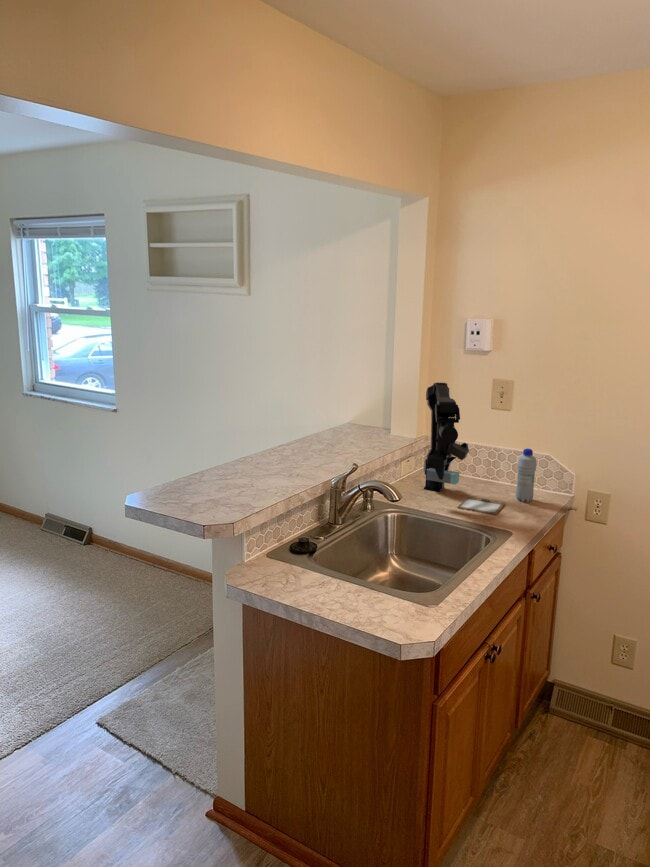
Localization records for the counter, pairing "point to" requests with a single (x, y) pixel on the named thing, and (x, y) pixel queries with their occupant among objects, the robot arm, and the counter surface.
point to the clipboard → (481, 505)
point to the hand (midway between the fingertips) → (442, 478)
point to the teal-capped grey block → (447, 477)
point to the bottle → (526, 476)
